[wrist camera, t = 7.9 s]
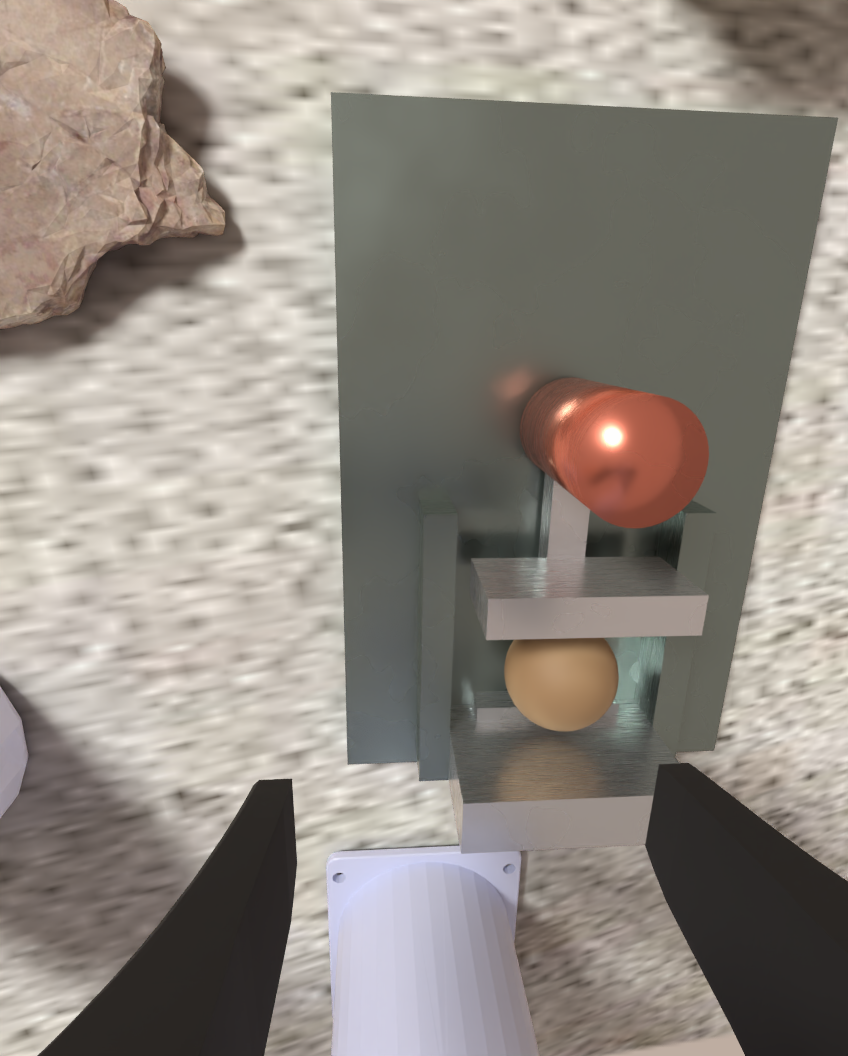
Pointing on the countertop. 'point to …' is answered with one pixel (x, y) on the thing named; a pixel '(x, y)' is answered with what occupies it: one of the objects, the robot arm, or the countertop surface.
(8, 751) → the soap bottle
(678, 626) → the ram
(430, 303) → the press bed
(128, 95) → the stone
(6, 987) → the countertop surface
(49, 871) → the countertop surface
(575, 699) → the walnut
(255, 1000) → the robot arm
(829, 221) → the countertop surface
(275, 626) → the countertop surface
